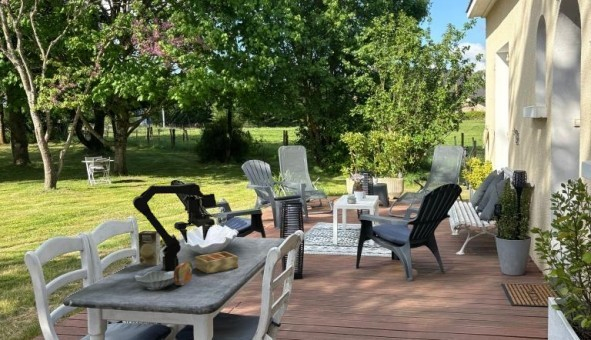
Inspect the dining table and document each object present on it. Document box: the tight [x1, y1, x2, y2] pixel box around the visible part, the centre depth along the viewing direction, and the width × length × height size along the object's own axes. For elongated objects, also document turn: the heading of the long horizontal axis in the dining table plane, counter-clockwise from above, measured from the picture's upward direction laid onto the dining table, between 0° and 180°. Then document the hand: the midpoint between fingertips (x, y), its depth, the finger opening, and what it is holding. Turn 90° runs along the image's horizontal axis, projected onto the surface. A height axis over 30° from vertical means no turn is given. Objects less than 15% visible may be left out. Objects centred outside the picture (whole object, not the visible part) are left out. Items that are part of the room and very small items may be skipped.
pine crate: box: [194, 251, 239, 274], centre depth 261 cm, size 16×13×6 cm
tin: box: [173, 261, 194, 286], centre depth 239 cm, size 15×3×8 cm, turn 168°
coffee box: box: [138, 230, 162, 266], centre depth 272 cm, size 9×6×16 cm
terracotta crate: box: [207, 254, 226, 261], centre depth 261 cm, size 6×8×5 cm
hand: (195, 241), depth 265 cm, fingers open, 9 cm apart
